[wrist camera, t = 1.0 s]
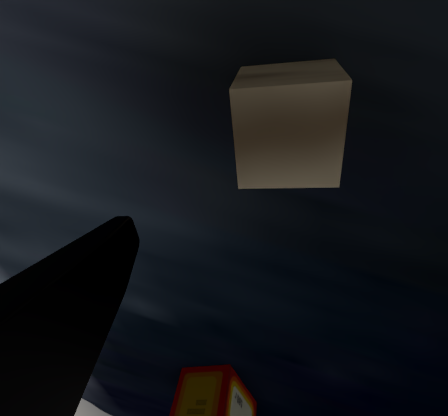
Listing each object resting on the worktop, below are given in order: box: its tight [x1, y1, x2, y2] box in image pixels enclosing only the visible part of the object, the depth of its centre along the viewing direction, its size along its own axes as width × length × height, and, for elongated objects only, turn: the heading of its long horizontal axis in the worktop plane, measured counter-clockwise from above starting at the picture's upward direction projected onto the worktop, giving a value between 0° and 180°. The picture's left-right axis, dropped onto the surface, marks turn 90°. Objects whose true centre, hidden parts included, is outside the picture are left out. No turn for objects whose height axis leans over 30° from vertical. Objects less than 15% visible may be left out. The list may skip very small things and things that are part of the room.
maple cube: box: [229, 58, 352, 189], centre depth 16 cm, size 5×5×5 cm
